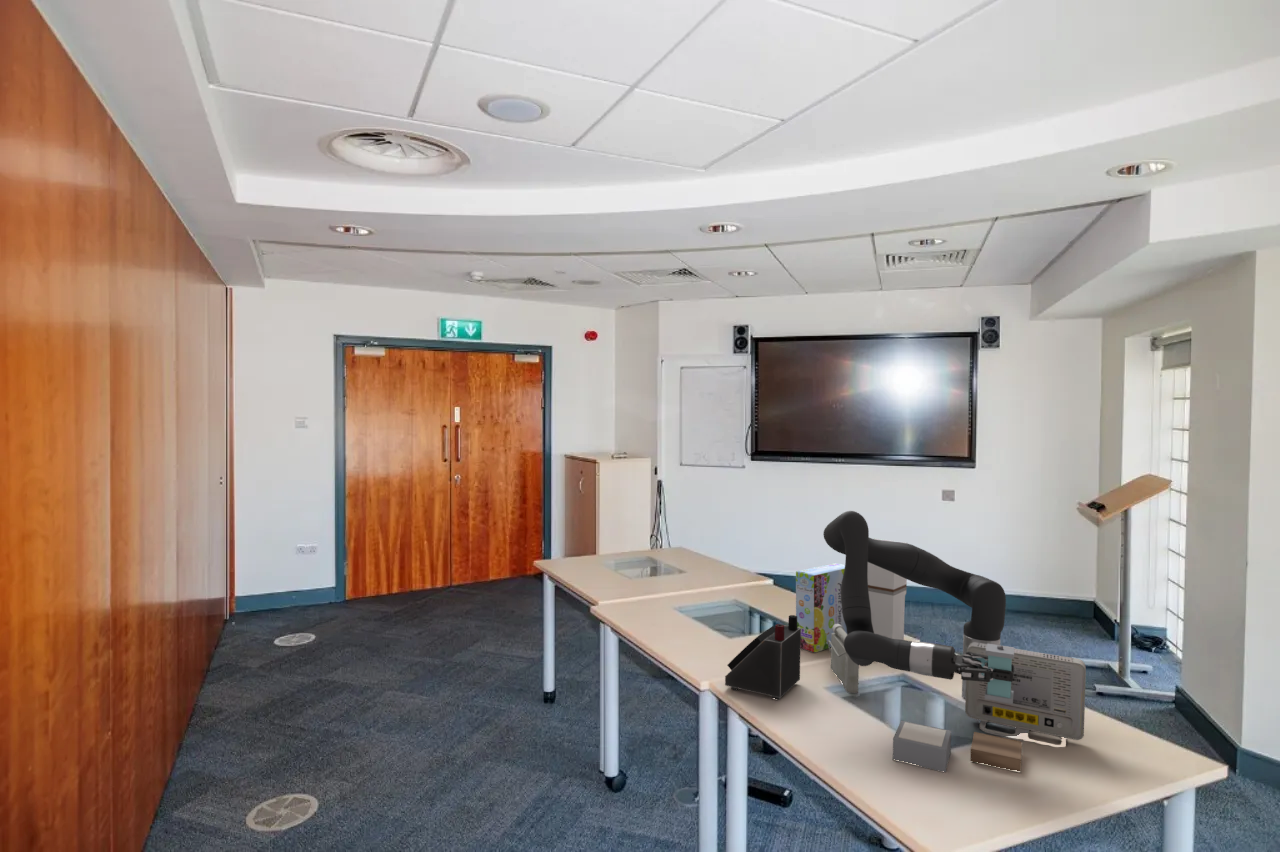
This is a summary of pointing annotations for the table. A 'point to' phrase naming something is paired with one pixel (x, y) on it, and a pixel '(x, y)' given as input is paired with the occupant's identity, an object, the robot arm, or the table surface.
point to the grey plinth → (922, 745)
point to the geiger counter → (843, 660)
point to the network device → (1034, 696)
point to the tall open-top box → (886, 601)
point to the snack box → (819, 604)
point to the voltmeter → (768, 661)
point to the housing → (1002, 660)
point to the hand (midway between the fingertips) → (1012, 672)
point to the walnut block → (996, 751)
